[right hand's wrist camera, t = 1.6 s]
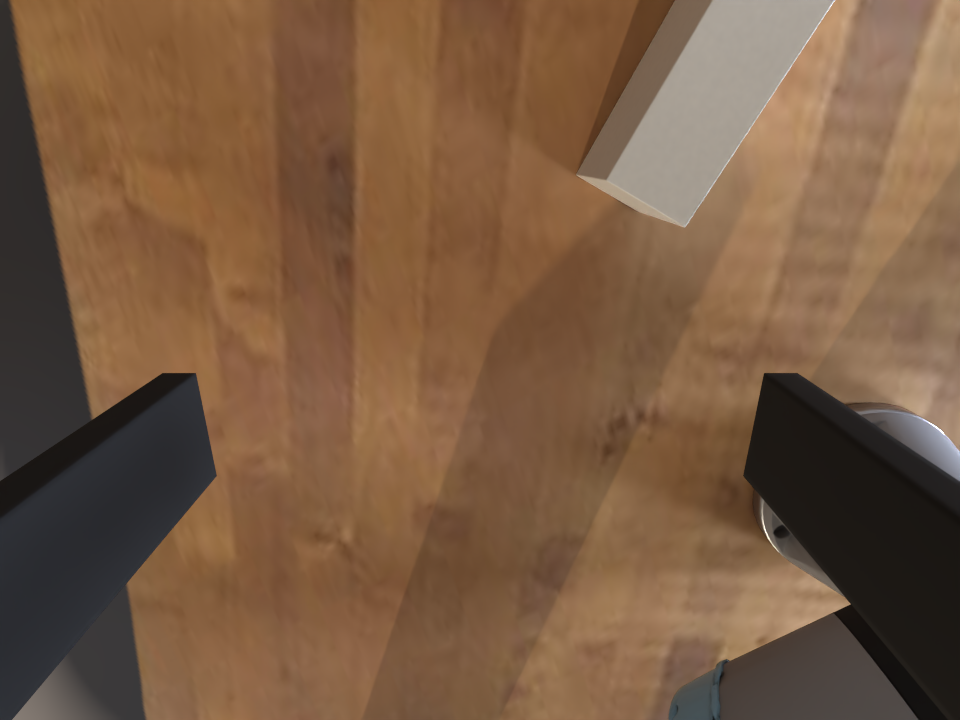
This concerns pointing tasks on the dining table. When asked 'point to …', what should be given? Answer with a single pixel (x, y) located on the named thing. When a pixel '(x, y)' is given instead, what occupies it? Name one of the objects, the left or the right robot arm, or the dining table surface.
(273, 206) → the dining table surface
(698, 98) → the bar
